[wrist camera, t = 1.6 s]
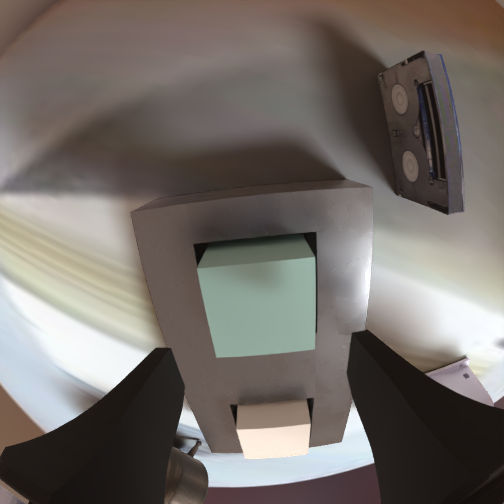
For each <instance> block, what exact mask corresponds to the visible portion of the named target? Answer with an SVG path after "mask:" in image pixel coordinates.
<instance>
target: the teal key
mask: <svg viewBox="0 0 504 504" xmlns="http://www.w3.org/2000/svg"><path fill="white" fill-rule="evenodd" d="M197 272H198V277H199V282H200V287H201V292H202V297H203V301H204V306H205V311H206V315H207V320H208V324H209V328H210V333H211V337H212V341H213V345H214V349H215V354H216V358H221V357H241V356H255V355H268V354H278V353H288V352H297V351H305V350H313V349H315V326H316V274H315V256H314V254H313V252H312V251H311V249H310V247H309V245H308V244H307V242H306V240H305V238H304V237H303V235H302V233H295V234H284V235H274V236H264V237H254V238H244V239H234V240H224V241H215V242H209V244H208V247H207V249H206V251H205V253H204V255H203V257H202V259H201V261H200V263H199V265H198V267H197Z"/></svg>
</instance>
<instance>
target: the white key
mask: <svg viewBox="0 0 504 504" xmlns="http://www.w3.org/2000/svg"><path fill="white" fill-rule="evenodd" d="M310 426H311V422H310V417H309V411H308V405H307V400H306V399H299V400H290V401H280V402H269V403H254V404H238V409H237V425H236V430H237V434H238V437H239V440H240V444H241V447H242V450H243V453H244V456H245V459H262V458H277V457H288V456H297V455H305V454H308V448H309V437H310Z"/></svg>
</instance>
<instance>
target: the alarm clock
mask: <svg viewBox="0 0 504 504" xmlns="http://www.w3.org/2000/svg"><path fill="white" fill-rule="evenodd" d="M201 444H202V443H201V441H197V442H196V445H195V446H194V447H193V448H192V449H191V450H190V451H189V452H188V453H184V452H182V451H180V450H179V449H177V448H175V447H172V449H171V453H170V457H169V462H168V468H167V476H166V485H165V499H164V504H203V503H204V501H205V498H206V495H207V491H208V474H207V470H206V468H205V466H204V465H203V464H202V463H201V462H200V461H199V460H197V459H194V458H193V456H194V455H195V453H196V451H197V449H198V447H199V446H200V445H201Z"/></svg>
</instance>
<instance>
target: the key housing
mask: <svg viewBox="0 0 504 504" xmlns="http://www.w3.org/2000/svg"><path fill="white" fill-rule="evenodd" d="M131 217H132V222H133V226H134V231H135V236H136V240H137V245H138V249H139V253H140V257H141V261H142V265H143V269H144V273H145V277H146V281H147V284H148V288H149V291H150V295H151V298H152V302H153V305H154V309H155V312H156V315H157V318H158V321H159V325H160V328H161V331H162V334H163V337H164V340H165V343H166V345H167V348H171V349H172V352H173V355H174V358H175V360H176V363H177V366H178V369H179V371H180V374H181V377H182V379H183V382H184V384H185V391H184V393H185V395H186V398H187V400H188V402H189V405H190V407H191V409H192V412H193V414H194V416H195V418H196V421H197V423H198V425H199V427H200V429H201V431H202V433H203V436H204V438H205V440H206V442H207V444H208V446H209V448H210V450H211V452H212V453H243V450H242V447H241V444H240V440H239V437H238V434H237V430H236V425H237V409H238V404H254V403H269V402H280V401H290V400H299V399H306V400H307V405H308V411H309V417H310V422H311V426H310V437H309V447H316V446H322V445H328V444H333V443H339V442H342V438H343V435H344V431H345V428H346V424H347V420H348V416H349V412H350V408H351V403H352V399H353V398H352V394H351V390H350V386H349V382H348V378H347V374H346V372H347V365H348V358H349V350H350V342H351V334H352V332H358V331H364V330H365V326H366V318H367V309H368V300H369V289H370V277H371V262H372V240H373V187H370V186H367V185H364V184H361V183H358V182H354V181H351V180H348V179H342V180H323V181H307V182H294V183H281V184H270V185H260V186H250V187H241V188H232V189H224V190H216V191H208V192H201V193H193V194H187V195H180V196H173V197H167V198H161V199H156V200H154V201H152V202H150V203H148V204H146V205H144V206H142V207H140V208H138V209H136V210H134V211H133V212H131ZM295 233H304V238H305V240H306V242H307V244H308V245H309V247H310V249H311V251H312V252H313V254H314V256H315V274H316V326H315V349H313V350H305V351H297V352H288V353H278V354H268V355H255V356H241V357H221V358H216V354H215V349H214V345H213V341H212V337H211V333H210V328H209V324H208V320H207V315H206V311H205V306H204V301H203V297H202V292H201V287H200V282H199V277H198V272H197V267H198V265H199V263H200V261H201V259H202V257H203V255H204V253H205V251H206V249H207V247H208V244H209V242H215V241H224V240H234V239H244V238H254V237H264V236H274V235H284V234H295Z"/></svg>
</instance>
